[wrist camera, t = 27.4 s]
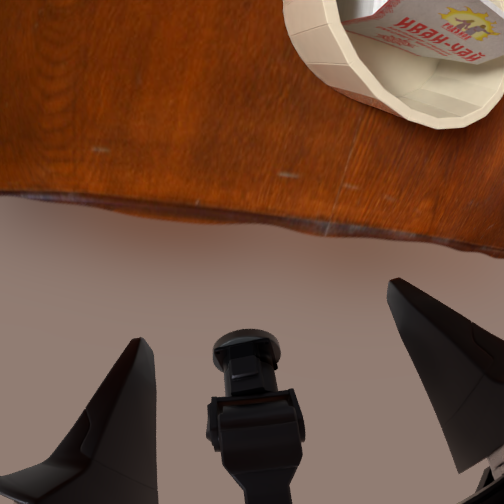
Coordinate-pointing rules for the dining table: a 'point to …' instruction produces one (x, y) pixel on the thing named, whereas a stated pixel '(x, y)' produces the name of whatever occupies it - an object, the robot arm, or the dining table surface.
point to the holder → (392, 70)
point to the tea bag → (430, 26)
